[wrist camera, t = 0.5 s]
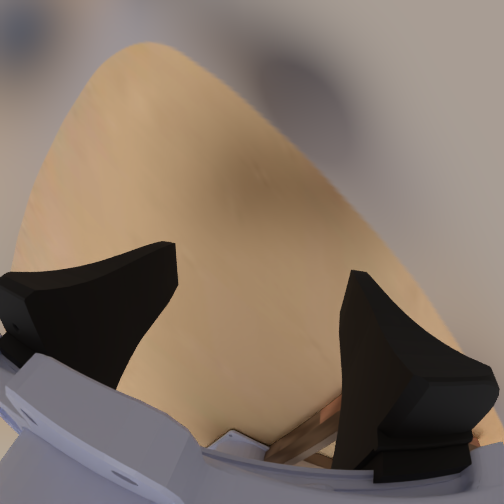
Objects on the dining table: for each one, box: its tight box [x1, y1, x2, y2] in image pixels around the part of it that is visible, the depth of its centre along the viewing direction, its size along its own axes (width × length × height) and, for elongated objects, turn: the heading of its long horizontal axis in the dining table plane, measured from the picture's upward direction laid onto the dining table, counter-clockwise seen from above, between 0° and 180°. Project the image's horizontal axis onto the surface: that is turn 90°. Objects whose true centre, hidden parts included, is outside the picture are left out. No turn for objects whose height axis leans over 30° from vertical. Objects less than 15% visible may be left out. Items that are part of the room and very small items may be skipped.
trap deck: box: [264, 394, 480, 469], centre depth 25 cm, size 22×27×5 cm
